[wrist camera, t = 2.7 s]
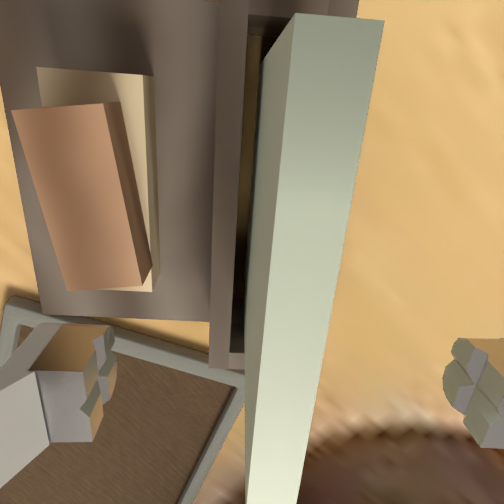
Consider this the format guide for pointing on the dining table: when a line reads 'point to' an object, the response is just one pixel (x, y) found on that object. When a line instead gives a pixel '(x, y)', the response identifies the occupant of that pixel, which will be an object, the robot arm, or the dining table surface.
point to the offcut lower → (137, 127)
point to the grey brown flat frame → (132, 423)
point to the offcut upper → (87, 193)
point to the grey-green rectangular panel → (298, 232)
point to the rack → (167, 139)
